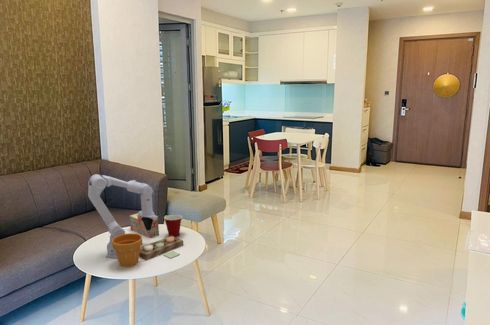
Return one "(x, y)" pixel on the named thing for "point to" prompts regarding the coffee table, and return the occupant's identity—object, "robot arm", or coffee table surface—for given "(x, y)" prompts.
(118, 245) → the flower pot
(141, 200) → the robot arm
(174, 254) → the colour card
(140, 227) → the stack of blocks
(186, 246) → the coffee table surface
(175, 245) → the wooden compartment tray
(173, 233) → the plastic cup
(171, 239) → the terracotta button
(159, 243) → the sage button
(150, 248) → the cream button
